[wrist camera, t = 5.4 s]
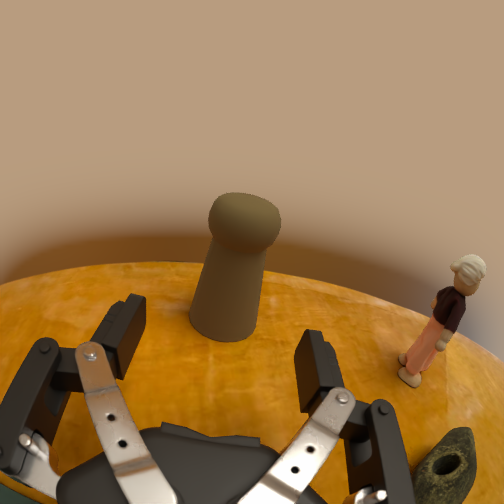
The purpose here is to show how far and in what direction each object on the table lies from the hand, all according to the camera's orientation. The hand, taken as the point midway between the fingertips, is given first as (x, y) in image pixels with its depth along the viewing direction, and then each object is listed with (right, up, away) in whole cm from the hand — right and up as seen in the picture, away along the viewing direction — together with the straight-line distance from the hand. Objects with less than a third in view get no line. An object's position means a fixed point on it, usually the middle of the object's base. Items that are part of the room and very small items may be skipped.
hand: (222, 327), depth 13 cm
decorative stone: (+12, -13, -4) cm, 19 cm away
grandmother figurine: (+17, -8, +9) cm, 21 cm away
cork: (-1, -2, +11) cm, 11 cm away
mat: (-13, -13, -16) cm, 24 cm away
